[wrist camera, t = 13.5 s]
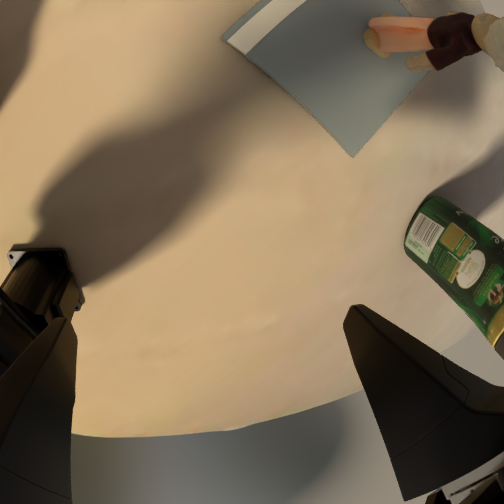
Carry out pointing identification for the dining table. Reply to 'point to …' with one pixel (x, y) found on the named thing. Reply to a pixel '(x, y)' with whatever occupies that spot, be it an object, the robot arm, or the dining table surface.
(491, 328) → the coffee jar
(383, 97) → the mat
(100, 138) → the dining table surface
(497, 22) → the grandmother figurine
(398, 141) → the dining table surface
